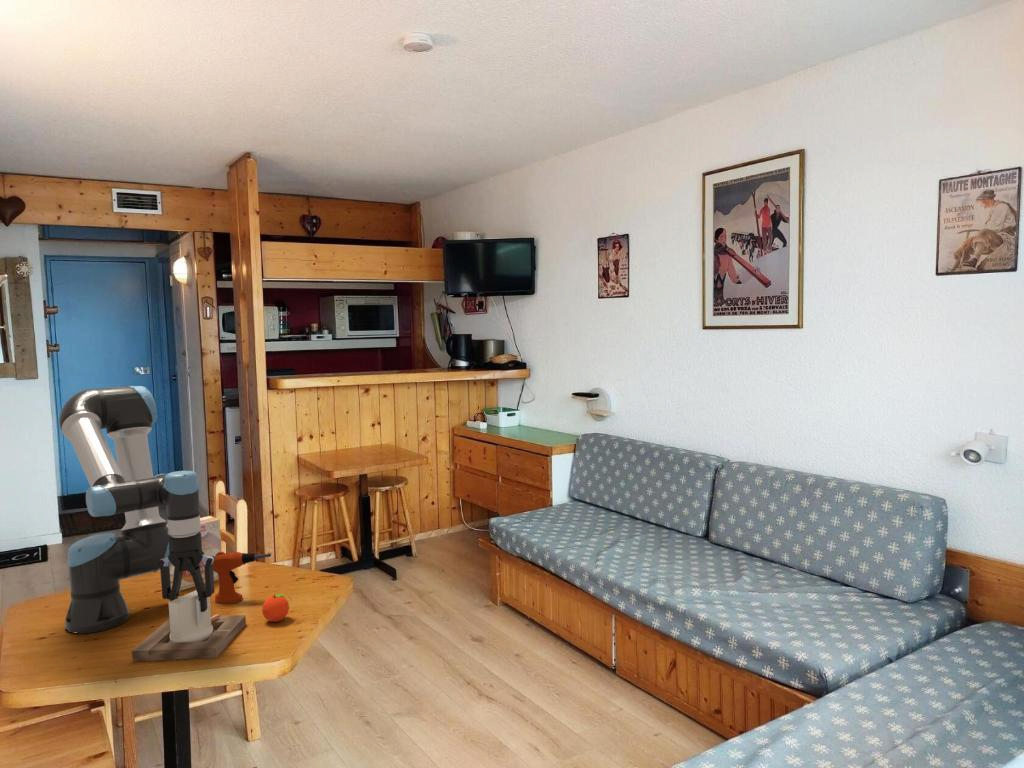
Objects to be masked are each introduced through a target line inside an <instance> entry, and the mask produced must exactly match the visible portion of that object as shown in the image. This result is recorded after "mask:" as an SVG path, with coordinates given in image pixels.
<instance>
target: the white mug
mask: <svg viewBox="0 0 1024 768" xmlns="http://www.w3.org/2000/svg"><path fill="white" fill-rule="evenodd" d="M210 597H211V596H210ZM210 597H207V607H208V608H207V610H206V611H205V612H204V617H205V622H204V623H203V624H202V625H201V626H198V625H197V609H196V600H197V599H198V598H199V597H198V594H197V590H193V591H191V592H189V593H187V594H185V595H182V596H179V597H178V598H177V599H175V600H173V601H170V600H169V601H168V602H167V603H168V611H169V612H168V613H169V615H168V616H169V618H170V632H171V633H170V643H177V642H204V641H207V640H208V639H209V638H210V636H211V635H212V634H213V626H212V625H211V622H212V621H214V620H216V619H218V618H220V616H221V614H220V613H219V614H218V613H216V614H214V615H212V614H211V600H210V599H211V598H210ZM211 615H212V617H211Z"/></svg>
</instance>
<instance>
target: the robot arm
mask: <svg viewBox="0 0 1024 768" xmlns="http://www.w3.org/2000/svg"><path fill="white" fill-rule="evenodd" d="M59 413H60V414H59V417H58V423H59V425H58V426H59V428H60V430H61V433H62V435H63V436H64V438H65V439H67V440H69V441H70V443H71V445H72V448H73V450H74V452H75V454H76V457H77V459H78V461H79V463H80V466H81V469H82V470H83V473H84V475H85V477H86V479H87V482H88V485H89V486H90V487H89V488H87V490H86V492H85V505H86V507H87V512H88V514H89V515H90V516H91V517H94V518H98V517H109V516H113V515H118V514H119V515H120V514H124V516H125V524H124V526H122V528H121V531H120V532H121V536H117V535H116V534H115V533H114V532H105V533H97V534H94V535H93V534H92V535H91V536H86V537H85V538H82V539H80V540H78V541H76V542H74V543H72V544H71V545H70V546H69V548H68V551H67V567H68V578H69V590H70V603H69V604H68V608H67V612H66V617H65V621H64V625H65V630H66V629H67V630H68V631H71V632H77V633H76V634H91V633H97V632H102V631H106V630H109V629H112V628H114V627H117V626H120V625H121V624H123V623H125V622H126V621H128V619H129V618H130V610H129V606H128V604H127V602H126V600H125V598H124V596H123V594H122V592H121V585H120V581H121V580H124V579H129V578H134V577H138V576H141V575H142V576H143V575H147V574H150V573H157V572H159V571H160V582H161V597H162V599H163V600H169V602H170V601H173V600H175V599H177V598H180V597H181V594H180V586H181V581H182V575H183V572H184V571H185V570H186V571H190V574H191V575H192V578H193V581H194V584H195V589H196V590H197V594H198V597H199V598H198V599H197V600H196V609H197V625H198V626H201V625H202V624H203V623H204V622H205V617H204V612H205V611H206V610H207V608H208V607H207V597H211V596H212V595H214V593H215V581H214V573H213V563H214V560H215V557H214V556H211V557H210V556H206V555H204V552H203V551H202V539H201V533H200V532H199V531H200V530H201V524H200V518H201V511H200V491H199V490H200V484H199V480H198V475H197V472H196V471H193V470H178V471H172V472H169V473H160V474H159V473H158V474H156V475H154V473H153V465H152V460H151V452H150V447H149V440H148V435H149V433H150V432H151V431H152V429H153V428H152V427H153V426H152V425H153V424H155V423H156V422H157V419H158V414H157V413H158V411H157V405H156V401H155V399H154V396H153V394H152V392H151V391H150V390H149V389H148V388H147V387H145V386H144V385H143V386H142V385H138V386H137V385H127V386H125V385H124V386H115V387H114V386H113V387H112V386H111V387H103V388H102V387H100V388H87V389H84V390H81V391H78V392H77V393H74V394H73V396H71V397H70V398H69V399H68V400H67V401H66V402H65V404H64V405H63V406H62V408H61V410H60V412H59ZM105 429H106V436H107V437H108V438H110V439H112V440H113V441H114V449H115V457H116V459H115V457H114V455H113V452H112V451H111V447H110V446H109V444H108V442H107V439H106V438H105V436H104V434H103V432H102V430H105ZM163 506H165V508H166V518H167V519H164V518H162V516H161V515H160V512H159V511H160V510H159V507H163ZM167 525H168V527H167ZM202 560H203V562H204V565H205V584H204V581H203V578H202V575H201V572H200V570H201V569H200V565H199V564H200V562H201V561H202ZM171 565H173V566H174V567H175V569H174V578H173V584H172V589H171V581H170V568H169V567H170V566H171ZM196 590H195V591H196ZM68 631H67V632H68Z"/></svg>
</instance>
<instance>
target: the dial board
mask: <svg viewBox="0 0 1024 768" xmlns="http://www.w3.org/2000/svg"><path fill="white" fill-rule="evenodd" d="M212 616H213V615H212ZM212 616H211V617H212ZM246 618H247V617H246V615H245V614H244V615H243V614H241V615H220V618H218V619H216V620H214V621H212V622H211V625H212V626H213V634H212V635H211V636H210V638H209V639H208V640H207V641H204V642H177V643H170V633H171V632H170V617H169V618H168V619H167V620H166V621H164V623H162V624H161V625H160V626H159V627H158V628H156V630H154V631H153V632H152V633H150V635H149V636H148V637H146V638H145V639H144V640H143V641H141V642H140V643H139V644H138V645H137V646H136V647H134V648H133V649H132V650H131V659H132V662H144V661H145V662H146V661H147V662H148V661H149V662H150V661H152V662H153V661H173V660H177V659H179V660H197V659H198V660H201V659H203V660H204V659H217V658H218V657H219V656H220V655H221V653H222V652H223V651H224V650H225V649H226V648H227V647H228V646H229V644H230V643H232V641H233V640H234V638H235V637H236V636H237V635H238V634H239V633H240V631H242V629H243V628H244V627H245V626H246V624H247V621H246Z"/></svg>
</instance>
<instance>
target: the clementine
mask: <svg viewBox="0 0 1024 768" xmlns="http://www.w3.org/2000/svg"><path fill="white" fill-rule="evenodd" d="M285 596H286V597H288V598H289V599H291V597H290V596H288V595H287V594H284V593H281V594H274V595H270V596H269V597H267V598H266V599H265V601H264V602H263V604H262V606H261V607H262V609H261V611H262V615H263V617H264V618H265V619H266V620H267V621H269V622H272V623H277V622H280V621H282V620H283V619H285V618H286V616H287V615H288V613H289V611H290V604H289V601H288V600H287V599H286V597H285Z"/></svg>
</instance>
